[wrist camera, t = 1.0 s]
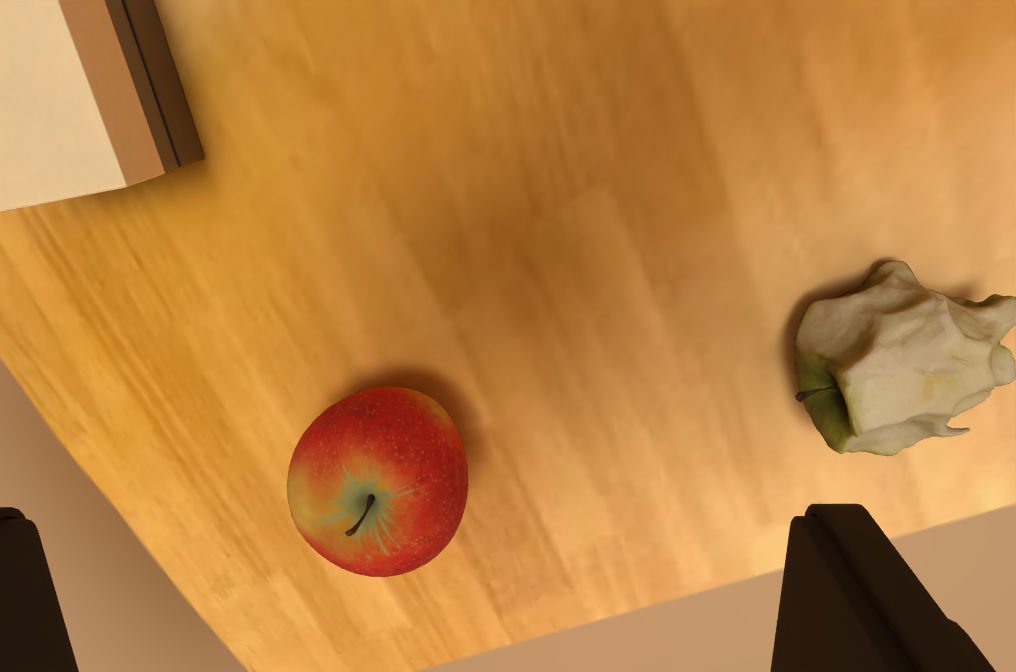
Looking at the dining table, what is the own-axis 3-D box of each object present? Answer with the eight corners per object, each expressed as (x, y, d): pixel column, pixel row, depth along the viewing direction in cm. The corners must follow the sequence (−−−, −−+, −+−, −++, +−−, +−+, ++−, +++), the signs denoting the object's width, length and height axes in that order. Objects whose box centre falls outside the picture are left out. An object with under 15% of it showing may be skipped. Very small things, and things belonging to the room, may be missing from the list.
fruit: (742, 386, 39) (769, 439, 31) (835, 221, 36) (889, 233, 28) (909, 465, 38) (978, 539, 30) (1014, 302, 36) (1119, 337, 28)
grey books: (-32, -111, 30) (-136, -140, 25) (106, -144, 30) (26, -180, 25) (82, 182, 34) (12, 204, 30) (205, 158, 34) (154, 176, 29)
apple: (344, 507, 40) (288, 645, 31) (301, 373, 38) (226, 480, 28) (489, 485, 40) (477, 620, 30) (457, 347, 37) (433, 448, 27)
